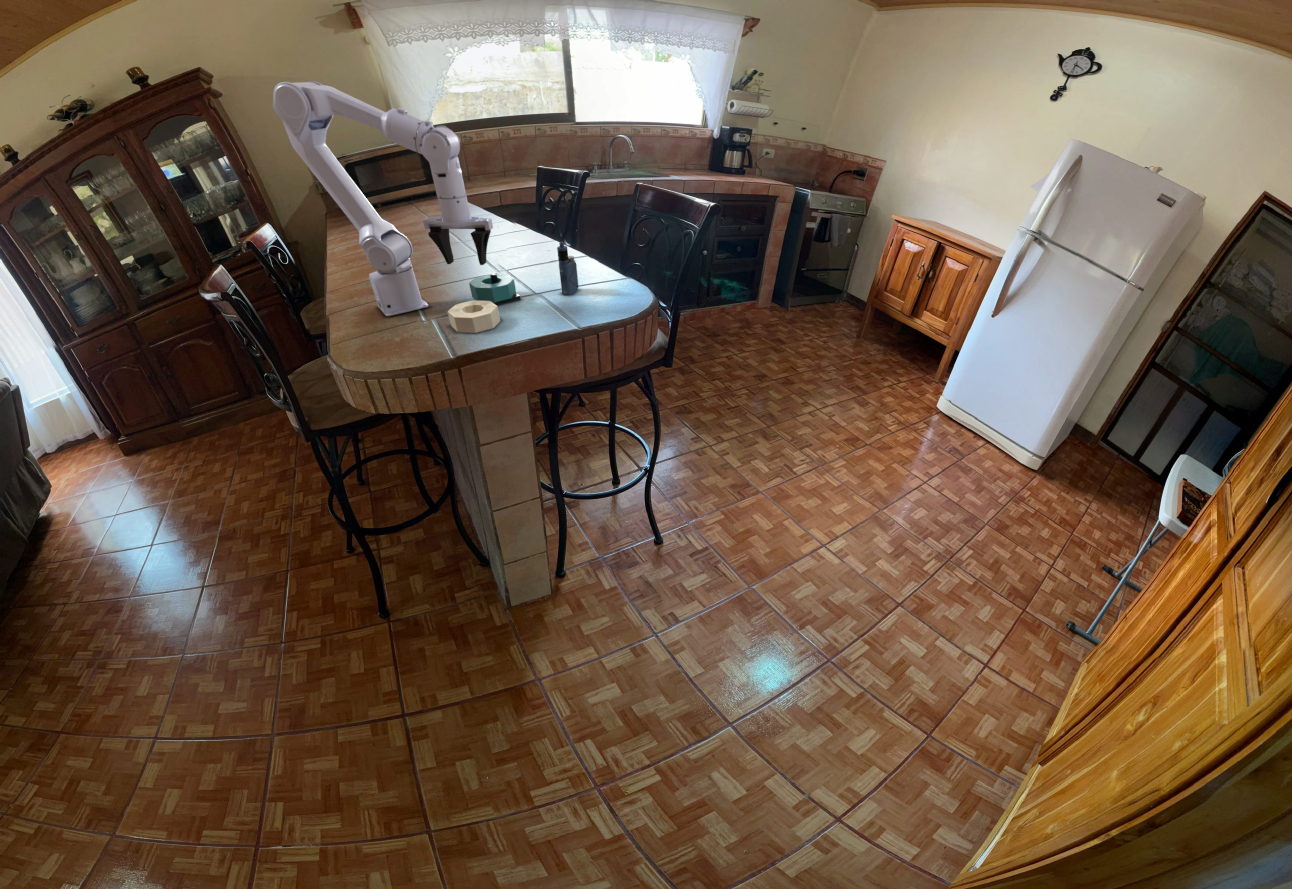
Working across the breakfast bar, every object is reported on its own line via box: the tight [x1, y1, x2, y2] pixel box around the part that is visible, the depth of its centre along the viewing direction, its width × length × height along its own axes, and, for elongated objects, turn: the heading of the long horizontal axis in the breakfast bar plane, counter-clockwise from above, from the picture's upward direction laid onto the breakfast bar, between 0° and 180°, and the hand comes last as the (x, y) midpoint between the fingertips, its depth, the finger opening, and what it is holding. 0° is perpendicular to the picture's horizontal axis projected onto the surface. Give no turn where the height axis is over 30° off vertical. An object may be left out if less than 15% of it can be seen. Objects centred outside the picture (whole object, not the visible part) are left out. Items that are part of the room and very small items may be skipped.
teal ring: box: [468, 273, 517, 302], centre depth 120 cm, size 10×10×3 cm
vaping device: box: [556, 241, 579, 296], centre depth 121 cm, size 3×5×12 cm, turn 152°
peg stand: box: [489, 272, 521, 307], centre depth 120 cm, size 8×8×6 cm
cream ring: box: [447, 299, 501, 334], centre depth 109 cm, size 10×10×3 cm
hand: (466, 263), depth 112 cm, fingers open, 7 cm apart
